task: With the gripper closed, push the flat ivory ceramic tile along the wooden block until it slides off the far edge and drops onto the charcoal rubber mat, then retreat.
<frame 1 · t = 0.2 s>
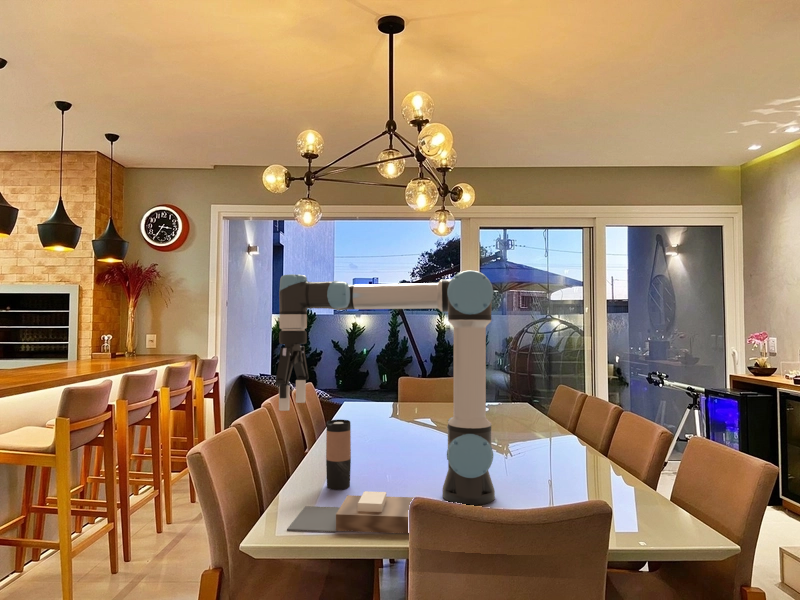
hand: (292, 406, 144), 28 cm above the table, fingers open, 13 cm apart
wooden block: (380, 521, 132), on the table
mat: (319, 519, 134), on the table
travel mug: (338, 487, 161), on the table
tile: (372, 505, 133), point 4 cm above the table, touching wooden block
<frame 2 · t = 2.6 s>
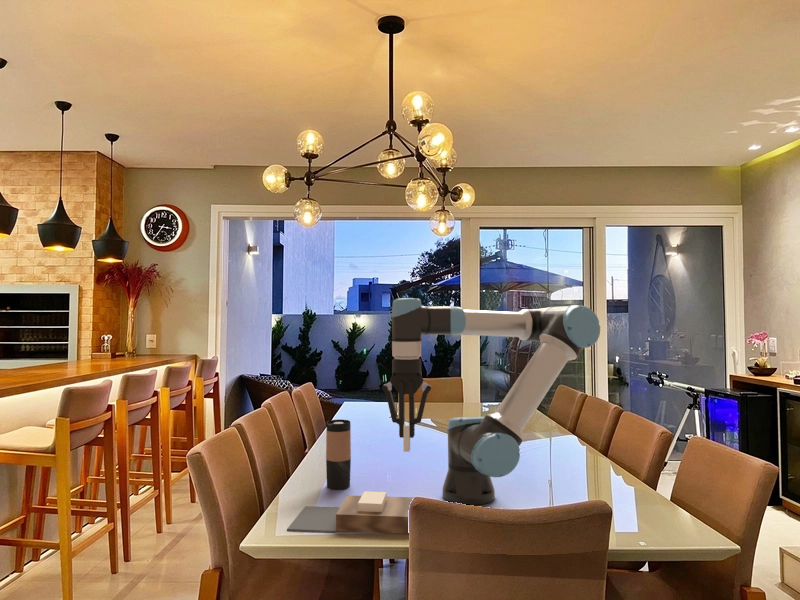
hand: (406, 450, 132), 18 cm above the table, fingers closed
nothing on the table moved.
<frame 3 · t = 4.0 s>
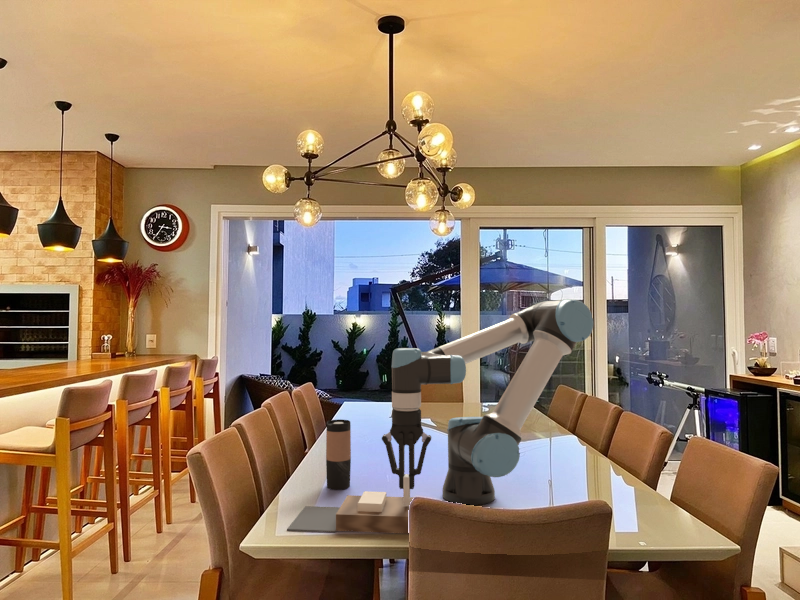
hand: (406, 501, 132), 5 cm above the table, fingers closed
nothing on the table moved.
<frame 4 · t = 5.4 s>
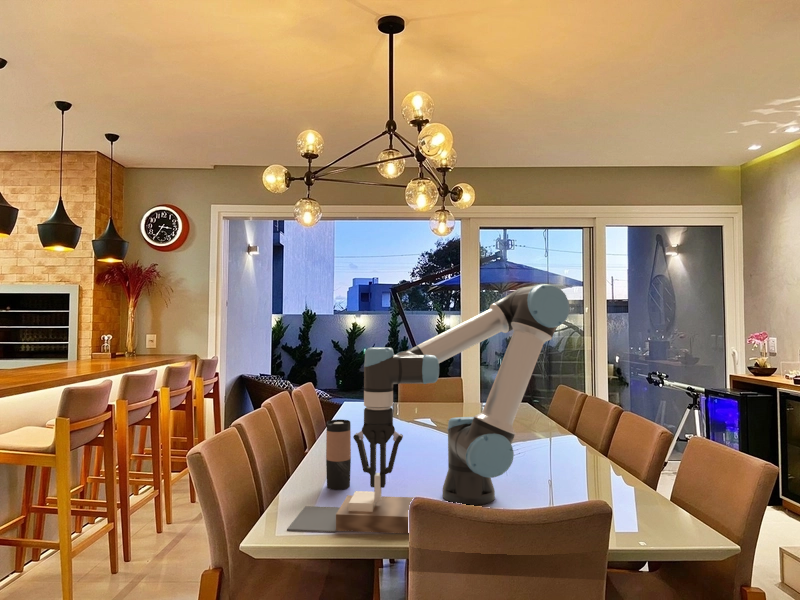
hand: (377, 499, 133), 5 cm above the table, fingers closed
tile: (363, 505, 133), point 4 cm above the table, touching wooden block, gripper
everything else where it was.
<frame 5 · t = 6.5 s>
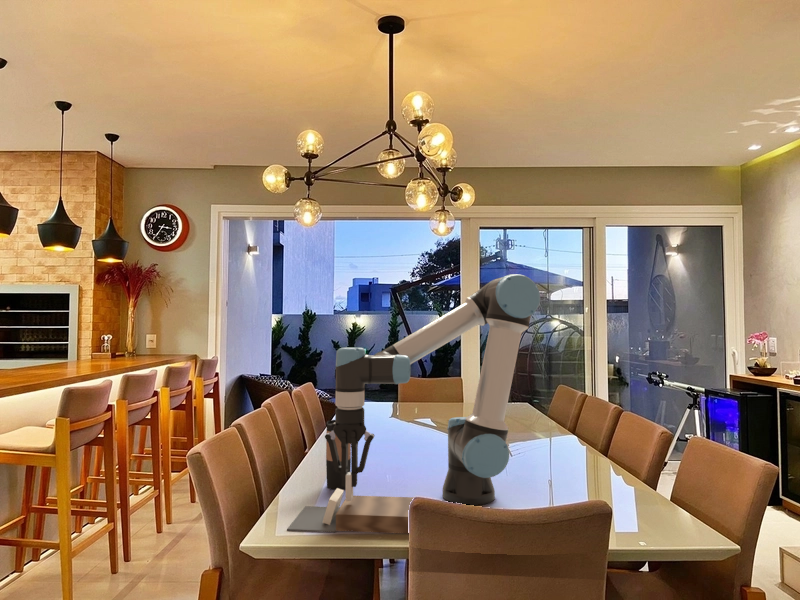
hand: (349, 499, 133), 5 cm above the table, fingers closed
tile: (337, 507, 134), point 3 cm above the table, tilted 73°, touching mat
everything else where it was.
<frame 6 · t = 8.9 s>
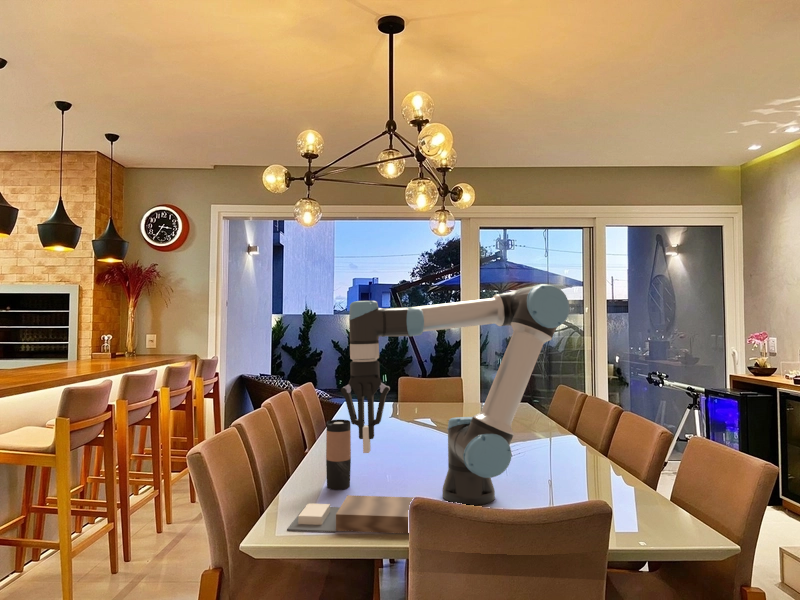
hand: (366, 451, 134), 18 cm above the table, fingers closed
tile: (314, 509, 134), point 2 cm above the table, tilted 180°, touching mat
everything else where it was.
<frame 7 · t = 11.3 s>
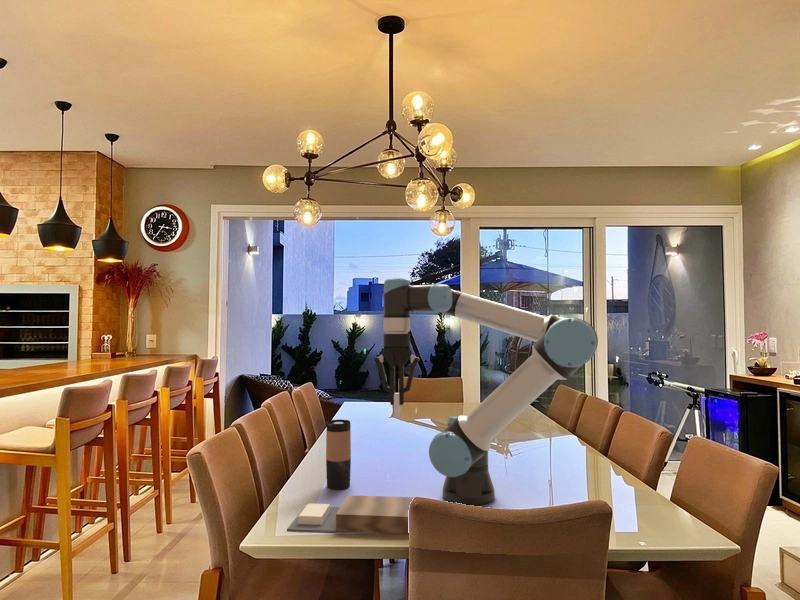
hand: (397, 416, 146), 24 cm above the table, fingers closed
nothing on the table moved.
at the end: tile point 2.4 cm above the table; tile inside the target area on the mat (1.2 cm from its centre), point 2.4 cm above the mat's base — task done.
